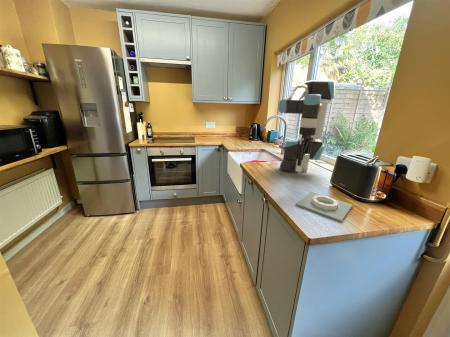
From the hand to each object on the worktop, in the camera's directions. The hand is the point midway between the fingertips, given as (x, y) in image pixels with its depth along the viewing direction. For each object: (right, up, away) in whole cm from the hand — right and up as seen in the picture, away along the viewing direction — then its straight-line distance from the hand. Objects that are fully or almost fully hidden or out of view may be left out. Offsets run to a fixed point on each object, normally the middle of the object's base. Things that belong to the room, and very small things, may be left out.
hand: (301, 169), depth 103 cm
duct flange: (+7, -18, -11) cm, 22 cm away
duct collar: (0, -1, 0) cm, 1 cm away
